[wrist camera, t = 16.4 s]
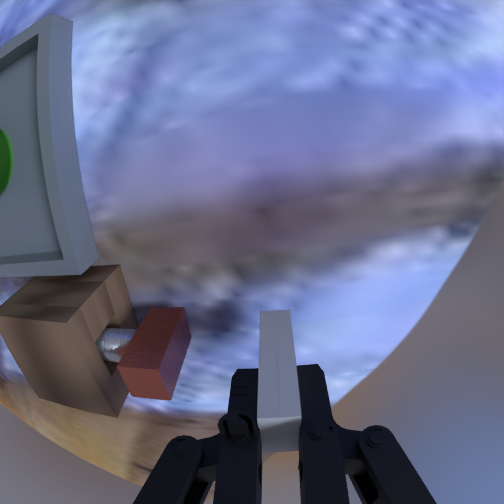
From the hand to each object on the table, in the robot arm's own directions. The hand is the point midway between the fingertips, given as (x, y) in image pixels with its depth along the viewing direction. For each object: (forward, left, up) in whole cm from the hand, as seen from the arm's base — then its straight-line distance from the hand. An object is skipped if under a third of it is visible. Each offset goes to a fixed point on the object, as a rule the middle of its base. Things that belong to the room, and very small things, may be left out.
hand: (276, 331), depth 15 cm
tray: (-12, -19, -3) cm, 22 cm away
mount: (0, -13, -3) cm, 13 cm away
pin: (0, -10, -2) cm, 10 cm away
